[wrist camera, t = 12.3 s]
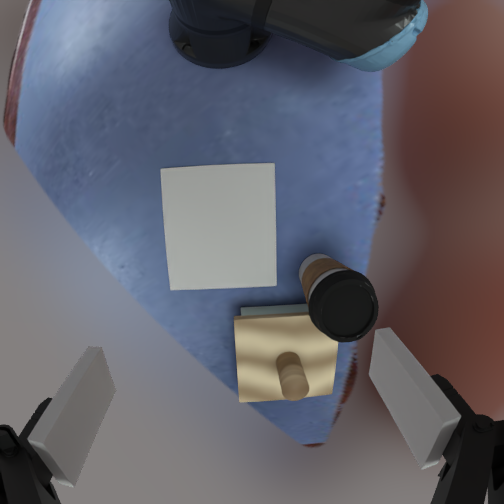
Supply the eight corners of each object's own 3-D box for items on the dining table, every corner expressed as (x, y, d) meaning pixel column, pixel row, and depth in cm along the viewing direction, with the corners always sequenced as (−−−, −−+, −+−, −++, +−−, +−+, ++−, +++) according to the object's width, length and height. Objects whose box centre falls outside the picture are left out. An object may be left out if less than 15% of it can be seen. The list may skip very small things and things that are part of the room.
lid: (233, 316, 44) (234, 346, 36) (338, 309, 45) (357, 335, 37) (239, 397, 48) (240, 432, 40) (330, 389, 48) (343, 421, 41)
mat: (161, 168, 43) (160, 168, 43) (274, 163, 44) (274, 163, 44) (171, 288, 48) (170, 290, 47) (276, 284, 49) (276, 285, 48)
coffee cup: (304, 306, 50) (329, 357, 35) (281, 261, 48) (301, 300, 33) (350, 281, 49) (391, 323, 35) (330, 235, 47) (370, 263, 33)
